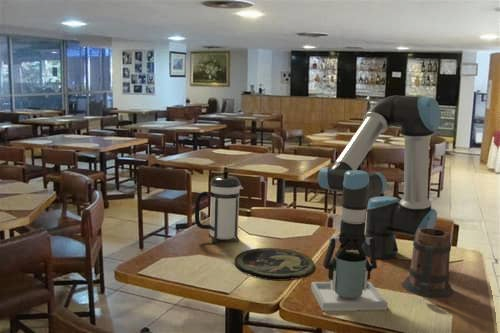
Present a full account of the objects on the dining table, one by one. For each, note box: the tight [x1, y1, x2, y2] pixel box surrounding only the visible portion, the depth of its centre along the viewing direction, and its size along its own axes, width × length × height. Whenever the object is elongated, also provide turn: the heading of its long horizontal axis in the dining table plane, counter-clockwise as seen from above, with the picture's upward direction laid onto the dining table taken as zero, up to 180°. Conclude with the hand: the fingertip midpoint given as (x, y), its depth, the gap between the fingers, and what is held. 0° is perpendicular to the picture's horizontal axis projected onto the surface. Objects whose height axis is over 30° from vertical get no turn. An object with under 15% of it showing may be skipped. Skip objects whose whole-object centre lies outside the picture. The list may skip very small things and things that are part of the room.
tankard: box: [401, 227, 455, 299], centre depth 165 cm, size 24×17×20 cm
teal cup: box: [333, 250, 368, 298], centre depth 157 cm, size 10×10×12 cm
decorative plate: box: [234, 247, 315, 280], centre depth 187 cm, size 30×2×30 cm
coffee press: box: [194, 169, 244, 244], centre depth 211 cm, size 17×16×30 cm
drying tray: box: [310, 281, 389, 312], centre depth 158 cm, size 20×16×2 cm
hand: (348, 288), depth 158 cm, fingers closed on teal cup, 9 cm apart
